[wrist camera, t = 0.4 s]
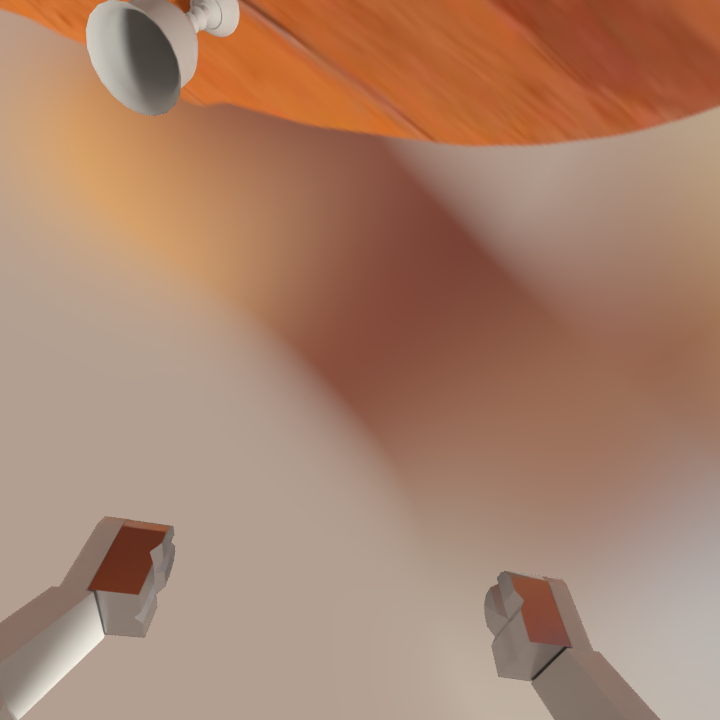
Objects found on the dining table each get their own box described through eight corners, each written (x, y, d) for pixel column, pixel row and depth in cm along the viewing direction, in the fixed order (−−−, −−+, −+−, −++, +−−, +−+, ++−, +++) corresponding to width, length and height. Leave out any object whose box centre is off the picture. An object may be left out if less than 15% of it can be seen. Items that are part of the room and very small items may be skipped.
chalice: (246, 58, 46) (184, 127, 35) (182, 37, 46) (97, 100, 34) (250, -28, 41) (178, 19, 29) (178, -55, 40) (74, -17, 29)
